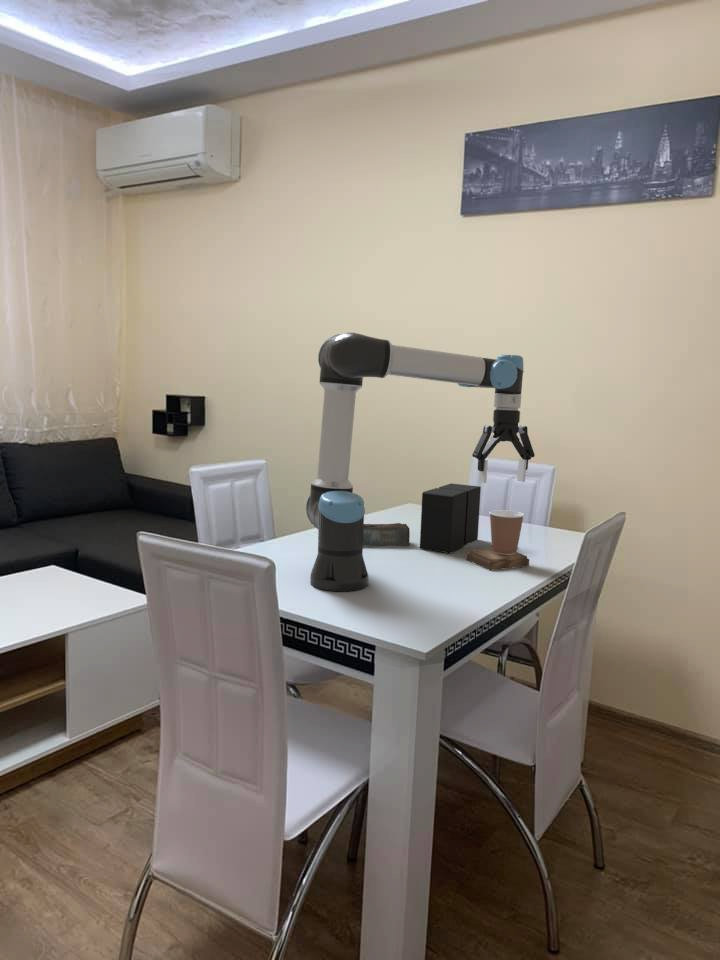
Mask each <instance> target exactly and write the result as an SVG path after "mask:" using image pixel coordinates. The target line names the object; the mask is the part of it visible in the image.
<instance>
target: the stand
mask: <svg viewBox="0 0 720 960" xmlns="http://www.w3.org/2000/svg"><path fill="white" fill-rule="evenodd" d="M465 560H466V561H468V562H470V563H472V562H473V563H472V564H474V563H475V565H477V566H479V565H480V567H481V566H482V568H483V567H484V568H483V569H485V568H486V569H485V570H487V569H489V570H488V571H493V570H492V569H497V570H503V569H502V568H508V569H513V568H512V567H518V568H526V567H525V566H530V559H529V558H528V556H527V555H524V554H522V553H520V552H517V551H516V554H514V555H500V554H496V553H494V552H493V550H492V548H485V549H484V548H483V549H472V550H471V549H470V550H468V552H466V559H465ZM523 566H524V567H523Z"/></svg>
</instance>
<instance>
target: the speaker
mask: <svg viewBox="0 0 720 960" xmlns="http://www.w3.org/2000/svg"><path fill="white" fill-rule="evenodd" d="M481 489H482V488H481V486H477V485H470V484H469V485H468V484H460V483H452V482H451V483H448V484H445V485H441V486H439V487H435V488H432V489H428V490H426V491H423V492H422V495H421V496H422V497H421V513H420V514H421V516H420V517H421V518H420V533H419V534H420V535H419V536H420V537H419V548H420V549H423V550H430V551H434V552H442V553H446V554H453V553H454V552H456V551H458V550H459V549H462V548H464V546H467V545H470V544H471V543H472V542H473V543H474V542H475V541H477V540H478V539H479V538H478V537H479V525H480V524H479V522H480V521H479V520H480V506H481V492H482V491H481Z"/></svg>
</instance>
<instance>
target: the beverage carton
mask: <svg viewBox="0 0 720 960" xmlns="http://www.w3.org/2000/svg"><path fill="white" fill-rule="evenodd" d="M410 536H411V535H410V527H409V525H408V524H407V523H400V522H397V523H364V529H363V545H369V547H371V546H372V547H377V546H378V547H379V546H381V547H382V546H383V547H389V546H391V547H394V546H395V547H409V545H410V539H411V538H410Z"/></svg>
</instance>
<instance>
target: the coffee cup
mask: <svg viewBox="0 0 720 960" xmlns="http://www.w3.org/2000/svg"><path fill="white" fill-rule="evenodd" d="M488 513H489V514H490V515H489V519H490V522H489V523H490V535H491V536H490V537H491V549H492V550H493V552H494V553H496V554H500V555H514V554H516V552H517V550H518V546H519V541H520V536H521V530H522V526H523V520H524V516H525V513H523V512H519V511H517V510H516V511H515V510H507V509H497V510H495V509H493V510H490V511H489V512H488Z"/></svg>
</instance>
